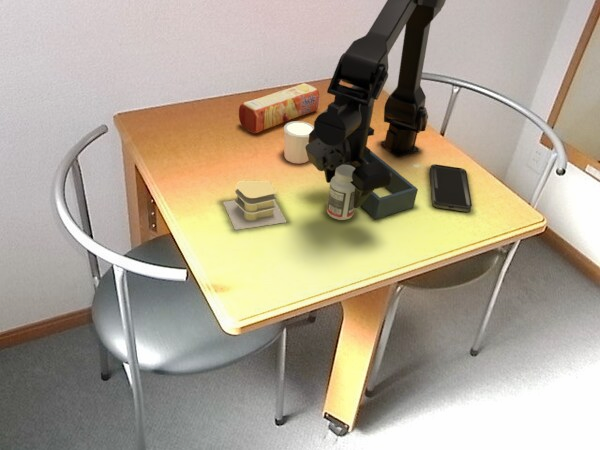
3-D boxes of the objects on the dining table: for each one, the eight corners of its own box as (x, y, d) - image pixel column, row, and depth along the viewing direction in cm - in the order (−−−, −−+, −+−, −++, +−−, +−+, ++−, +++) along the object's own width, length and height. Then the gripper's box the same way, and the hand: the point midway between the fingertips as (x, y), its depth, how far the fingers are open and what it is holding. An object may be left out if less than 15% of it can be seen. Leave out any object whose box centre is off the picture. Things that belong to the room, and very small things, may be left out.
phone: (466, 168, 135) (472, 208, 123) (464, 173, 136) (470, 212, 124) (430, 163, 135) (432, 202, 123) (428, 167, 136) (431, 206, 124)
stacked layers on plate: (272, 195, 122) (273, 172, 119) (286, 222, 116) (288, 198, 113) (222, 202, 119) (223, 178, 116) (235, 230, 113) (235, 205, 109)
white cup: (309, 167, 132) (312, 139, 128) (278, 161, 133) (280, 133, 128) (315, 151, 137) (318, 123, 133) (285, 146, 138) (287, 118, 134)
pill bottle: (347, 202, 123) (354, 161, 117) (358, 218, 119) (365, 176, 113) (322, 206, 121) (327, 164, 115) (332, 222, 117) (338, 179, 111)
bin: (367, 168, 134) (371, 150, 131) (413, 207, 124) (418, 189, 121) (331, 178, 129) (333, 160, 127) (375, 219, 119) (379, 200, 116)
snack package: (301, 102, 156) (304, 77, 152) (320, 112, 152) (323, 87, 148) (236, 126, 143) (237, 99, 139) (255, 138, 140) (256, 111, 136)
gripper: (287, 106, 110) (281, 178, 120) (346, 157, 98) (334, 233, 108) (338, 96, 115) (329, 166, 125) (401, 143, 103) (384, 217, 113)
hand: (342, 194), depth 117 cm, fingers open, 9 cm apart
